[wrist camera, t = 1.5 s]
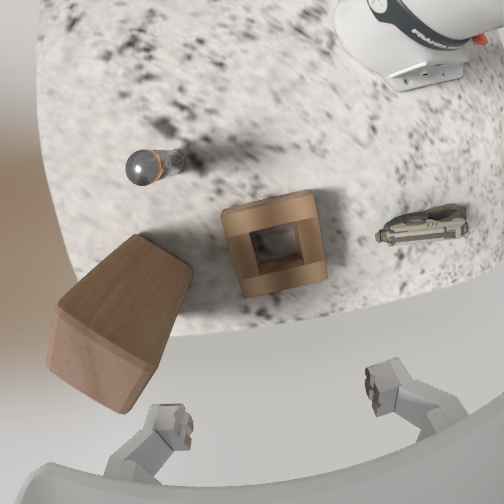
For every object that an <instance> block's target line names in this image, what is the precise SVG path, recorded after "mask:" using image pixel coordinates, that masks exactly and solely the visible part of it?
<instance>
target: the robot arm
mask: <svg viewBox="0 0 504 504" xmlns="http://www.w3.org/2000/svg"><path fill="white" fill-rule="evenodd" d="M334 24H335V29H336V32H337V34H338V36H339V38H340V40H341V42H342V43H343V45H344V46H345V48H346V49H347V50H348V51H349V53H350V54H351V55H352V56H353V57H354V58H355V59H357V60H358V61H359V62H360V63H361V64H363V65H364V66H366V67H367V68H369V69H371V70H372V71H374V72H376V73H378V74H379V75H381V76H382V77H383V78H384V79H385V80H386V81H387V82H388V83H389V85H390V86H391V87H392V88H393V89H395V90H396V91H398V92H404V91H407V90H411V89H415V88H419V87H423V86H427V85H431V84H436V83H440V82H445V81H449V80H454V79H458V78H461V77H462V76H463V70H464V65H463V63H464V62H467V61H469V59H470V56H471V49H470V43H469V40H470V39H471V38H472V39H473V42H474V44H477V45H485V44H487V43H488V42H487V39H486V37H485V35H484V33H485V32H488V31H491V30H494V29H498V28H501V27H504V0H342V1H341V2H340V3H339V4H338V6H337V7H336V10H335V13H334ZM404 80H406V82H407V84H406V83H405V81H404ZM365 375H366V377H367V378H366V380H365V388H366V393H367V396H368V398H369V399H370V400H371V401H372V408H373V410H374V413H375V415H376V417H379V416H382V415H385V414H388V413H391V412H395V413H396V414H398V415H400V416H401V417H403V418H404V419H406V420H407V421H409V422H410V423H412V424H413V425H415V426H417V427H418V428H420V429H421V432H420V434H419V436H418V439H417V441H416V443H415V444H412V445H410V446H408V447H405V448H403V449H400V450H398V451H396V452H393V453H390V454H387V455H385V456H382V457H379V458H376V459H373V460H370V461H367V462H364V463H361V464H358V465H354V466H351V467H347V468H344V469H340V470H336V471H332V472H328V473H324V474H319V475H315V476H310V477H305V478H300V479H294V480H288V481H281V482H274V483H266V484H257V485H246V486H227V487H186V486H168V485H162V484H161V483H160V482H159V481H158V480H157V479H155V478H154V475H155V474H156V473H157V472H158V471H159V469H160V468H161V467H162V466H163V464H164V463H165V462H166V461H167V459H168V458H169V457H170V456H171V454H172V453H173V451H185V450H190V447H191V440H192V439H191V438H190V436H189V435H190V434H191V433H192V432H193V420H192V417H191V416H190V414H189V413H187V412H185V407H184V405H183V404H152V405H151V406H150V408H149V411H148V414H147V417H146V421H145V424H144V427H143V430H140V431H139V432H137V433H136V434H135V435H134V436H133V437H132V438H131V439H130V440H129V441H127V442H126V443H125V444H124V445H123V446H122V447H121V448H119V449H118V450H117V451H116V452H115V453H114V454H112V455H111V456H110V458H109V460H108V464H107V467H106V469H105V472H104V475H103V476H100V475H96V474H91V473H87V472H83V471H80V470H76V469H72V468H69V467H66V466H63V465H59V464H56V463H53V462H49V463H46V464H45V465H43V466H41V467H40V468H38V469H37V470H35V471H34V472H33V473H31V474H30V475H29V476H28V477H27V478H26V480H25V482H24V483H23V485H22V487H21V489H20V491H19V493H18V495H17V497H16V500H15V502H14V504H504V392H503V393H502V394H501V395H499V396H498V397H496V398H495V399H494V400H492V401H491V402H489V403H488V404H486V405H485V406H483V407H482V408H480V409H478V410H477V411H475V412H474V413H472V414H470V415H468V413H467V412H466V410H465V408H464V407H463V406H462V404H461V402H460V401H459V399H458V398H457V397H456V396H454V395H452V394H449V393H447V392H444V391H442V390H439V389H437V388H435V387H433V386H430V385H428V384H425V383H423V382H421V381H419V380H413V379H412V378H411V376H410V375H409V373H408V371H407V370H406V368H405V366H404V365H403V364H402V362H401V360H400V359H399V358H398V357H395V358H393V359H390V360H387V361H384V362H381V363H378V364H375V365H372V366H369V367H367V368H366V369H365Z"/></svg>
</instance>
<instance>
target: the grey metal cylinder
mask: <svg viewBox="0 0 504 504" xmlns="http://www.w3.org/2000/svg"><path fill="white" fill-rule="evenodd" d="M184 164H185V160H184V157H183V155H182V154H181V153H180V152H179V151H176V150H139V151H136V152H134V153H133V154H132V155H131V156H130V157H129V158H128V160H127V163H126V174H127V177H128V178H129V180H130V181H131V182H132V183H134V184H136V185H139V186H146V185H149V184H151V183H154V182H155V181H158V180H161V179H164V178H167V177H170V176H173V175H176V174H178V173H179V172H181V171H182V169H183V168H184Z"/></svg>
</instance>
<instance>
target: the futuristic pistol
mask: <svg viewBox="0 0 504 504" xmlns="http://www.w3.org/2000/svg"><path fill="white" fill-rule="evenodd" d="M468 229H469V228H468V223H467V222H466V207H464V206H458V205H455V204H446V205H444V206H440V207H436V208H433V209H429V210H426V211H425V212H422V213H421V214H417V213H411V214H406V215H402V216H399V217H396V218H394V219H392V220H391V222H387V223H386V224H385V225H384V229H383V230H379V232H378V233H376V234H375V239H376V241H378V243H381V241H382V242H383V241H384V242H387V244H388V246H393V245H403V244H412V243H422V242H431V241H440V240H445V239H447V240H449V239H459V238H461V237H462V236H464V235H465V234H466V233H467V232H468Z"/></svg>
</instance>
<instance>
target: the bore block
mask: <svg viewBox="0 0 504 504" xmlns="http://www.w3.org/2000/svg"><path fill="white" fill-rule="evenodd" d="M220 218H221V221H222V225H223V228H224V232H225V235H226V239H227V242H228V245H229V249H230V252H231V256H232V259H233V262H234V266H235V269H236V273H237V276H238V279H239V283H240V286H241V289H242V293H243V296H244V299H246V298H250V297H255V296H259V295H264V294H268V293H272V292H277V291H281V290H285V289H289V288H293V287H297V286H301V285H305V284H309V283H313V282H317V281H321V280H325V279H328V275H327V268H326V262H325V255H324V249H323V243H322V237H321V231H320V226H319V220H318V215H317V209H316V204H315V199H314V194H312V193H311V192H309V191H308V190H302V191H298V192H293V193H289V194H285V195H280V196H276V197H272V198H268V199H263V200H259V201H255V202H251V203H247V204H243V205H239V206H235V207H231V208H227V209H224V210H223V211H222V214H221V216H220ZM291 222H293V226H294V231H295V235H296V240H297V245H298V250H299V254H296V255H291V256H287V257H283V258H279V259H275V260H271V261H266V262H262V263H258V260H257V256H256V252H255V248H254V244H253V240H252V237H251V233H250V232H253V231H257V230H261V229H265V228H270V227H274V226H278V225H282V224H286V223H291Z"/></svg>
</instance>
